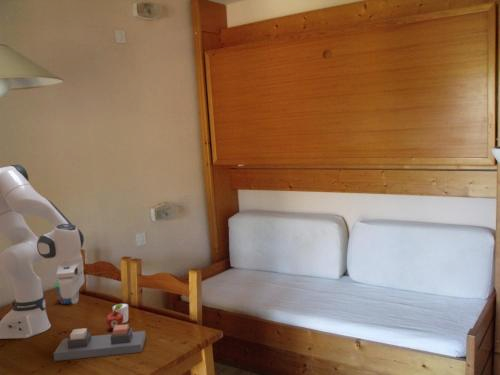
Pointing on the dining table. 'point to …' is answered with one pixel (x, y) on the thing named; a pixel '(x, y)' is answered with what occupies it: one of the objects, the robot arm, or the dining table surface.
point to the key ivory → (78, 334)
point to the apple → (115, 317)
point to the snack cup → (64, 301)
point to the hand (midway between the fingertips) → (75, 302)
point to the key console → (100, 345)
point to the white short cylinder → (122, 311)
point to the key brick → (121, 329)
